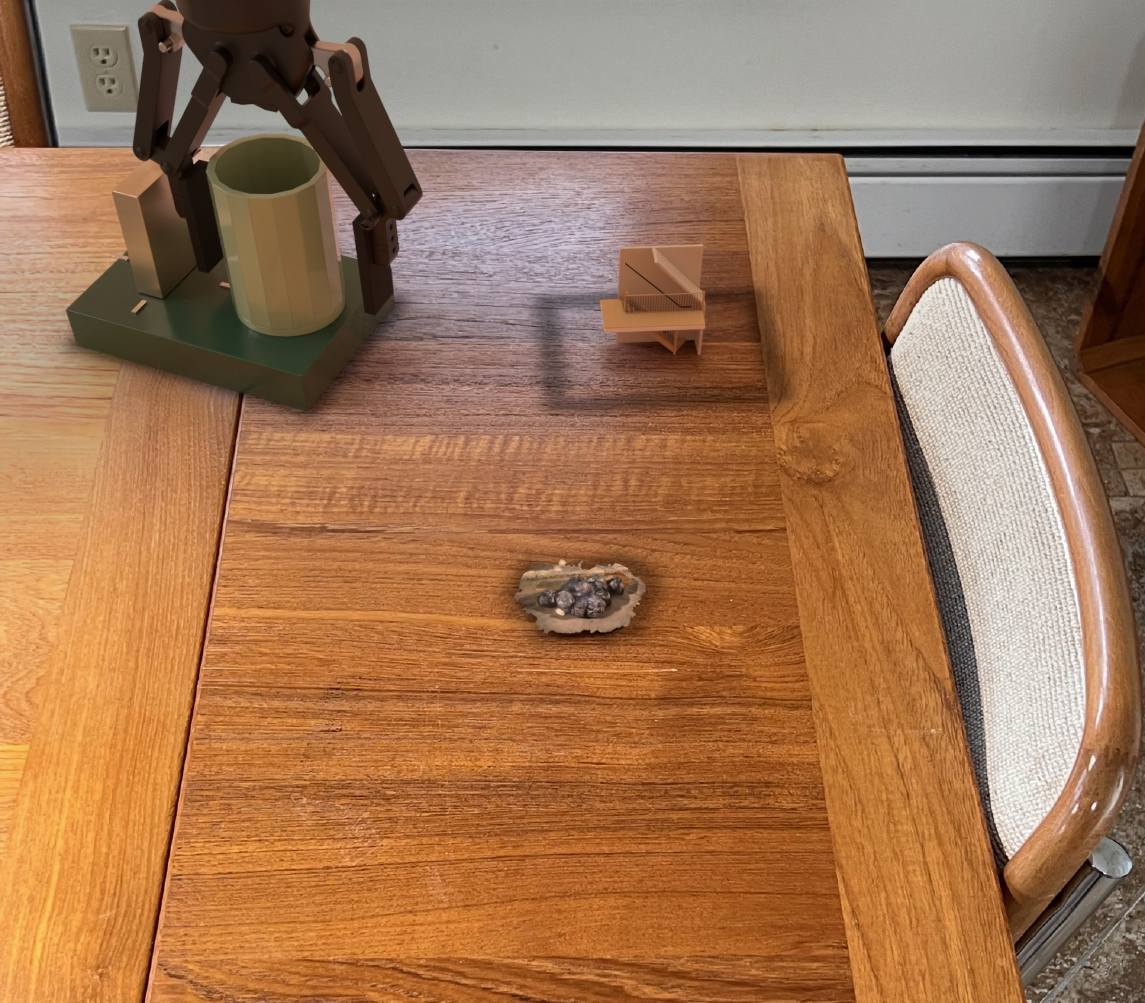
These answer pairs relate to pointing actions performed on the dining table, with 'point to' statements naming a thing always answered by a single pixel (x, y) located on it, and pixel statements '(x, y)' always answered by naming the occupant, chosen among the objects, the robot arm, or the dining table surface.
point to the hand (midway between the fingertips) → (295, 282)
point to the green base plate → (219, 334)
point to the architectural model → (658, 296)
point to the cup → (278, 233)
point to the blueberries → (579, 597)
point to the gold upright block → (153, 230)
